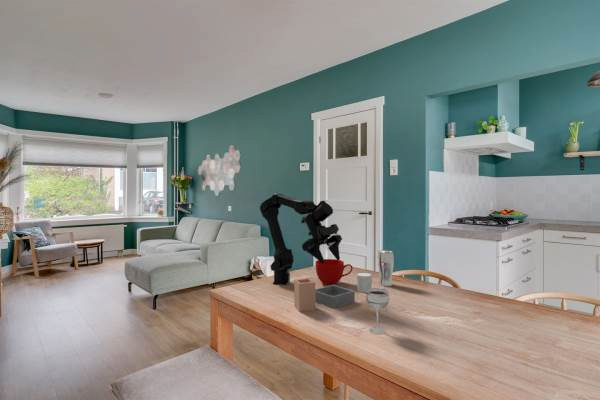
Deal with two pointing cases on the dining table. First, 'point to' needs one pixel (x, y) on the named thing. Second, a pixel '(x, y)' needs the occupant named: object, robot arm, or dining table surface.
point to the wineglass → (377, 304)
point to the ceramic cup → (331, 271)
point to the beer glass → (385, 267)
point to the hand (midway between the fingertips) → (331, 261)
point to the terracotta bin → (304, 294)
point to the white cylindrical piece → (364, 281)
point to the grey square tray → (334, 296)
